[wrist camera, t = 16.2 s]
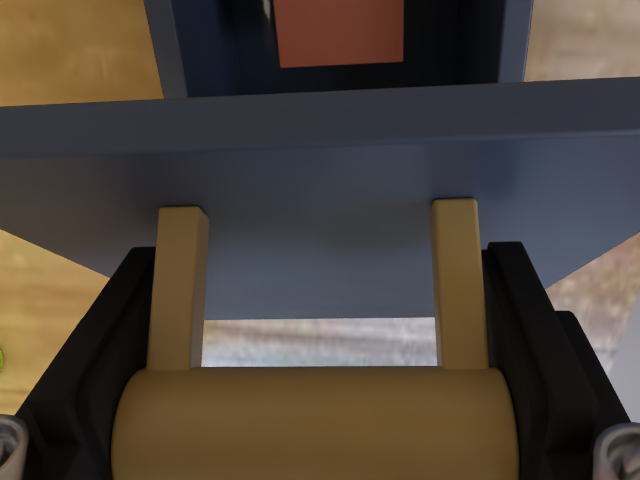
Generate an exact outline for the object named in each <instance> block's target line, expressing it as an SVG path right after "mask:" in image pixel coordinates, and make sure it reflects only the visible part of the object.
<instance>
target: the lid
mask: <svg viewBox="0 0 640 480" xmlns="http://www.w3.org/2000/svg"><path fill="white" fill-rule="evenodd" d="M0 229H1V230H4V231H6V232H8V233H10V234H13V235H15V236H17V237H19V238H22V239H24V240H26V241H28V242H31V243H33V244H35V245H37V246H40V247H42V248H44V249H46V250H49V251H51V252H53V253H55V254H58V255H60V256H62V257H64V258H67V259H69V260H71V261H73V262H76V263H78V264H80V265H82V266H85V267H87V268H89V269H91V270H94V271H96V272H98V273H100V274H103V275H105V276H107V277H109V278H111V277H112V275H113V274H114V273H115V271H116V270H117V268H118V267H119V265H120V264H121V262H122V261H123V260H124V258H125V257H126V255H127V254H128V252H129V251H130V250H131V249H132V248H133V247H156V254H155V266H154V278H153V291H152V303H151V315H150V327H149V339H148V352H147V364H146V367H145V368H143V369H140V370H138V371H137V372H136V373H134V375H133V376H132V377H131V378H130V379H129V381H128V383H127V384H126V386H125V388H124V390H123V392H122V395H121V397H120V400H119V403H118V407H117V410H116V414H115V418H114V424H113V430H112V438H111V470H112V477H113V480H519V478H520V455H519V440H518V431H517V424H516V417H515V412H514V407H513V402H512V398H511V394H510V391H509V388H508V385H507V382H506V380H505V378H504V375H503V374H502V372H501V371H500V369H499V368H497V367H494V366H490V357H489V345H488V332H487V320H486V307H485V295H484V282H483V270H482V258H481V249H487V246H488V243H489V242H505V241H520V242H522V244H523V245H524V248H525V250H526V252H527V254H528V256H529V258H530V260H531V262H532V264H533V266H534V268H535V270H536V273H537V275H538V277H539V279H540V281H541V283H542V285H543V287H544V289H546V288H548V287H550V286H551V285H553V284H554V283H556V282H558V281H559V280H561V279H563V278H564V277H566V276H568V275H569V274H571V273H573V272H574V271H576V270H578V269H579V268H581V267H583V266H584V265H586V264H588V263H589V262H591V261H593V260H594V259H596V258H598V257H599V256H601V255H603V254H604V253H606V252H607V251H609V250H611V249H612V248H614V247H616V246H617V245H619V244H621V243H622V242H624V241H626V240H627V239H629V238H631V237H632V236H634V235H636V234H637V233H639V232H640V77H620V78H598V79H577V80H556V81H535V82H514V83H492V84H471V85H450V86H429V87H408V88H386V89H365V90H344V91H323V92H302V93H280V94H259V95H238V96H217V97H195V98H174V99H153V100H132V101H111V102H89V103H68V104H47V105H26V106H5V107H0ZM412 317H435V328H436V346H437V364H438V366H327V367H201V361H202V343H203V325H204V320H242V319H327V318H412Z"/></svg>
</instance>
